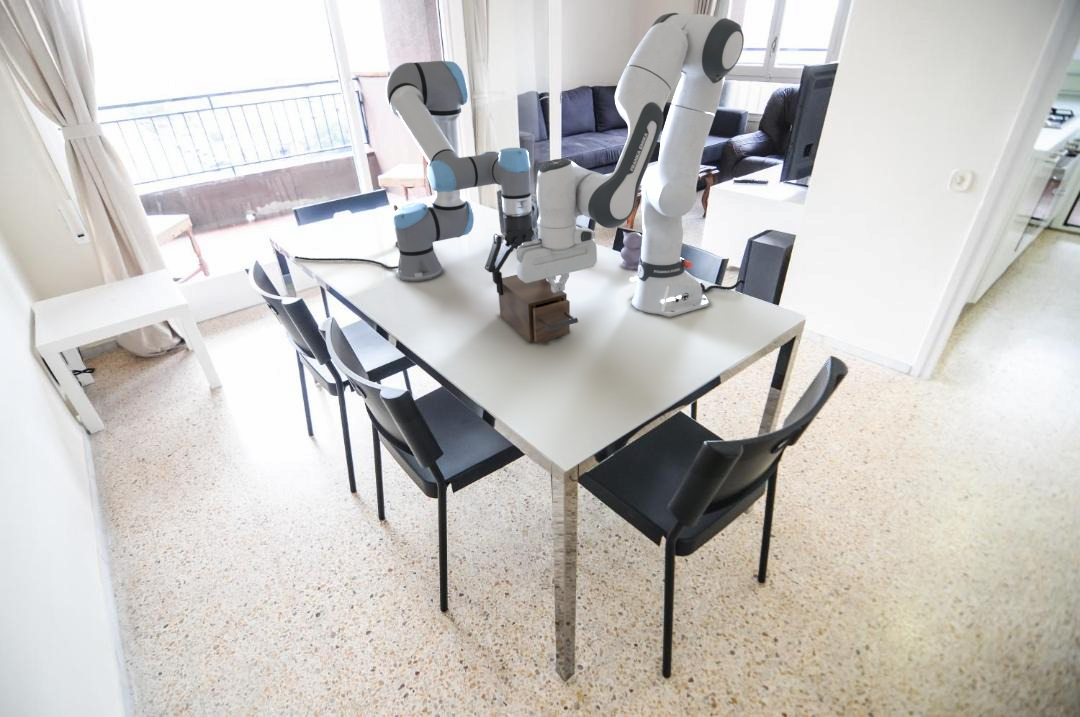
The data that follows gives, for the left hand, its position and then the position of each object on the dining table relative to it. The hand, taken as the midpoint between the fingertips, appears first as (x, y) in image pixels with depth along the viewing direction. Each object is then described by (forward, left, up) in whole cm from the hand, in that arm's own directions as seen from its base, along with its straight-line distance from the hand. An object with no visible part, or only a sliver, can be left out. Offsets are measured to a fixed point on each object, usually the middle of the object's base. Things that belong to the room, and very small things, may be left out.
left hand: (522, 288), depth 140 cm
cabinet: (+4, -4, -9) cm, 10 cm away
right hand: (+15, -13, +7) cm, 21 cm away
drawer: (+9, -7, -8) cm, 14 cm away
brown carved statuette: (-71, +48, -9) cm, 86 cm away
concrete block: (-23, +59, -9) cm, 64 cm away
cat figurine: (+22, +47, -9) cm, 53 cm away
